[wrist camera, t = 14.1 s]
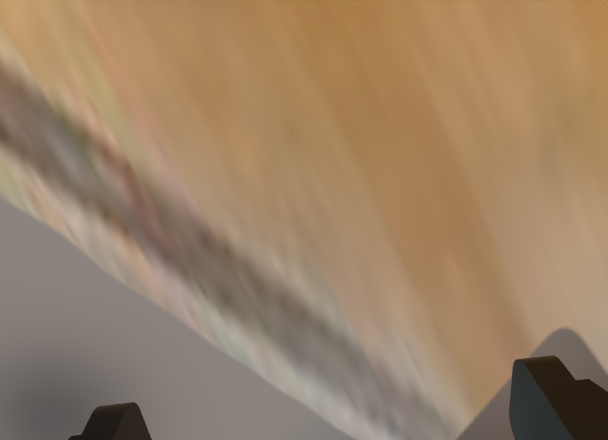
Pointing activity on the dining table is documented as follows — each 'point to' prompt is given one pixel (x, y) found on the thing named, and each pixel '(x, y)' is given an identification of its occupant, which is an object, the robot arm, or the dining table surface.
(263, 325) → the dining table surface
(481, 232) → the dining table surface
